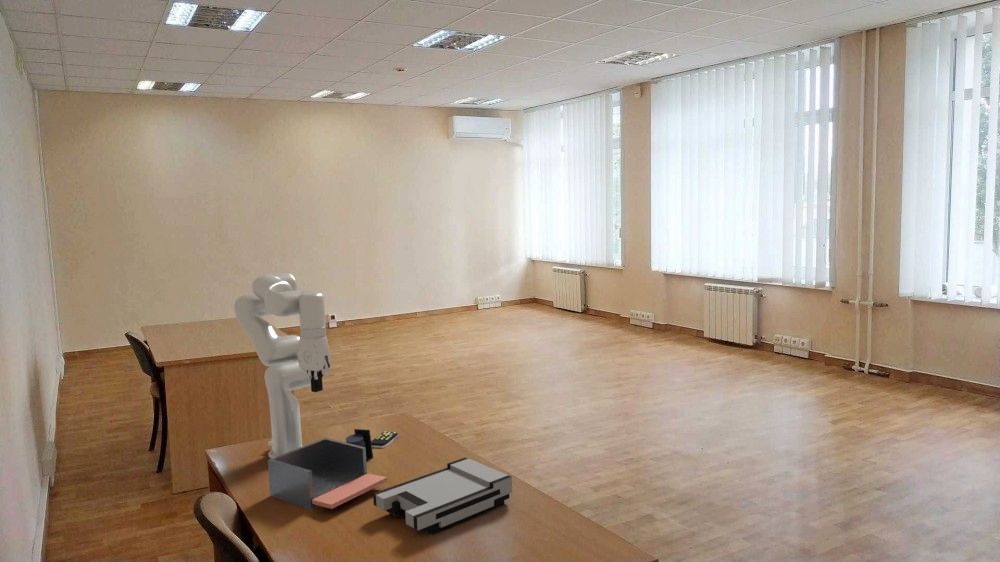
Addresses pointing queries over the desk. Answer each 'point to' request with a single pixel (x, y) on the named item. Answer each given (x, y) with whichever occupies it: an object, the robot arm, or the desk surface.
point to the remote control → (384, 439)
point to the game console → (446, 496)
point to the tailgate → (349, 491)
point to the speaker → (361, 440)
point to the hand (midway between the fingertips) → (317, 390)
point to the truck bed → (315, 470)
